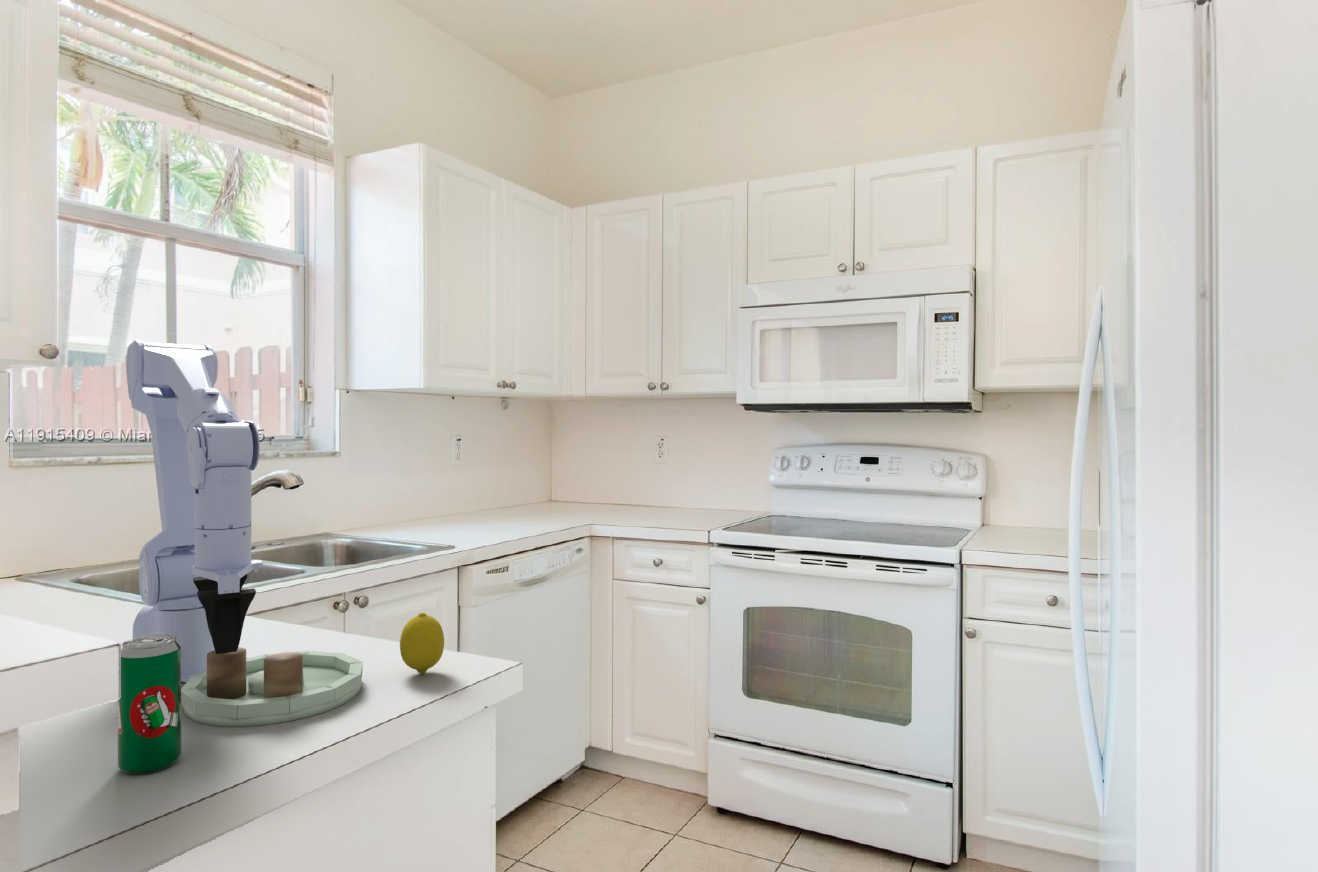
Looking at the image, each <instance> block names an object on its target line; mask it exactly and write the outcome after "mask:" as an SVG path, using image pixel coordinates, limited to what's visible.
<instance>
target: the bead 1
mask: <svg viewBox="0 0 1318 872" xmlns="http://www.w3.org/2000/svg"><path fill="white" fill-rule="evenodd" d="M246 658H247V649H246V648H245V647H239V646H238V649H237V651H236V652H229V653H222V654H216V652H215V650H214V651H211V652H209V653H208V654H207V696H208V697H209V698H221V699H232V700H233V699H237V698H240V697H242V696H244V695H245V694H246Z"/></svg>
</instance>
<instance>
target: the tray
mask: <svg viewBox="0 0 1318 872" xmlns="http://www.w3.org/2000/svg"><path fill="white" fill-rule="evenodd" d="M296 652H297V653H301V654H303V692H302V693H298V694H294V695H291V696H285V697H275V698H265V699H264V658H266V657H267V656H270V655H273V654H274V653H267V654H261V655H257V656H256V655H255V656H251V657H246V694H245V695H244V696H242V697H240V698H237V699H233V700H232V699H221V698H209V697H208V696H207V670H206V671H203V672H201V673H199V674H196V675H194V676H191V678H190V679H189V680H188V681H187V682H185V684H184V685H183V686H182V687H181V706H183V713H184V715H185V716H186V718H188V719H190V720H192V721H194V722H197V723H198V724H199V723H200V724H204V725H209V726H216V727H217V726H218V727H256V726H257V727H258V726H264V725H265V726H266V725H267V726H268V725H274V724H281V723H287V722H292V721H296V720H301V719H305V718H309V717H313V716H315V715H319V714H322V713H325V712H328V711H330V710H334V709H335V708H339V707H340V706H342V705H344V704H346V703H348V702H350V701H351V700H353V699H354V698H355V697H356V696H358V695H359V694H360V692H361V689H362V686H363V685H362V678H363V661H362V660H360V659H358V658H354V657H352V656H350V655H348V654H346V653H342V652H341V653H340V652H330V651H329V652H328V651H317V650H316V651H315V650H303V651H302V650H301V651H296ZM278 653H279V652H277V653H275V654H278Z"/></svg>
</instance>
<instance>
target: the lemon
mask: <svg viewBox="0 0 1318 872" xmlns="http://www.w3.org/2000/svg"><path fill="white" fill-rule="evenodd" d="M399 640H400V641H399V652H400V655H401V659H402V661H403V663H405V665H406V666H408V667H409V668H410V669H412V670H415V671H416V672H417V673H419V674H420V675H423V674H425V673H426V672H428V670H429V669H430V668H433V667H435V665H437V664H438V662H439V661H440V660H441V658H442V656H443V652H444V648H445V635H444V631H443V628H442V625H441V624H440V622H439V621H438V620H437V619H436V618H435V617H433V616H431V615H429V614H426V613H425V612H420V613H418V614H417V615H416V616H414V617H412V618H411V619H409V620H408V621H407V622H406V624H405V625H404V626H403V629H402V631H401V634H400V639H399Z"/></svg>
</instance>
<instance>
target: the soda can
mask: <svg viewBox="0 0 1318 872" xmlns="http://www.w3.org/2000/svg"><path fill="white" fill-rule="evenodd" d="M121 646H122V648H121V650H120V651H121V698H120V699H119V700H118V699H117V767H118V769H120V770H121V771H122V772H123V773H126V774H127V775H137V776H138V775H146V774H153V773H156V772H160V771H163V770H165V769H167V768H169V767H171V766H172V765H174V764H176V762H177V761H178V759H179V758H180V757H181V756H182V704H181V689H182V682H181V647H180V645H179V644H178V643H177V642H176V636H174V635H170V634H154V635H146V636H140V637H136V638H133V637H132V638H130V639H127V640H124V641H123V642H122V644H121Z"/></svg>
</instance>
